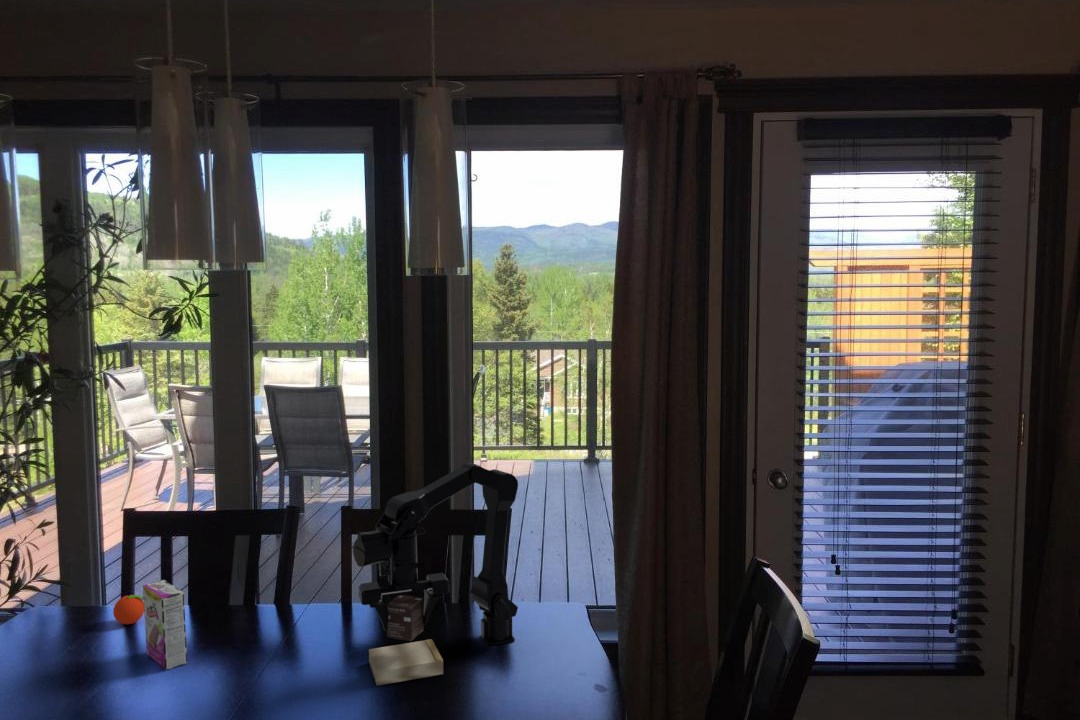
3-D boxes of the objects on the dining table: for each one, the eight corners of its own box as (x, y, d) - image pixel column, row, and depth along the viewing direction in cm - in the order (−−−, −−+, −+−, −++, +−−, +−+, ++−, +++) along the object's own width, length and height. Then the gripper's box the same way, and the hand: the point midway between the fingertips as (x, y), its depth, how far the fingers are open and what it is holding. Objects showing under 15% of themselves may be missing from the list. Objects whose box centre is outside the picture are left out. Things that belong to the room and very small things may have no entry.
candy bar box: (144, 656, 174) (141, 584, 173) (167, 648, 178) (164, 578, 177) (164, 672, 167) (161, 597, 166) (188, 663, 171) (185, 591, 169)
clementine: (152, 615, 197) (151, 588, 196) (146, 626, 190) (145, 598, 190) (117, 619, 195) (116, 591, 194) (110, 630, 188) (109, 602, 188)
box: (385, 637, 166) (385, 604, 165) (400, 626, 171) (399, 594, 171) (411, 641, 163) (410, 608, 163) (424, 630, 169) (424, 597, 169)
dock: (432, 652, 175) (431, 638, 175) (443, 674, 165) (443, 659, 165) (369, 662, 171) (368, 648, 170) (376, 685, 160) (376, 670, 160)
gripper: (438, 540, 177) (439, 606, 178) (354, 550, 170) (356, 619, 172) (449, 555, 166) (451, 626, 168) (361, 566, 160) (363, 639, 161)
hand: (405, 627), depth 167 cm, fingers closed on box, 8 cm apart
